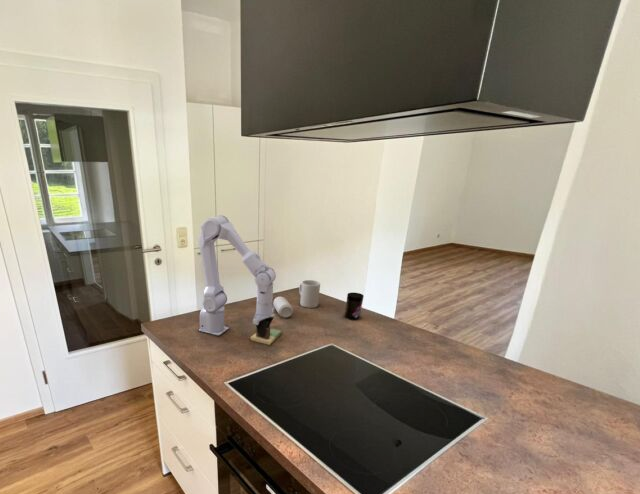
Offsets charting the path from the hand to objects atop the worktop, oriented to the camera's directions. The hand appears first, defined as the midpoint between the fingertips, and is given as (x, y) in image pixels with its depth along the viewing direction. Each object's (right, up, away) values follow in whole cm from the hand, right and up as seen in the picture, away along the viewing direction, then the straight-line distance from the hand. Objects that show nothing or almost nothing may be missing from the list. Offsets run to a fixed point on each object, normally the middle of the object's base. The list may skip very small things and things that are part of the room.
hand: (262, 335), depth 136 cm
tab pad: (+1, -1, +2) cm, 2 cm away
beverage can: (+11, +9, +19) cm, 24 cm away
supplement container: (+41, +7, +23) cm, 47 cm away
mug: (+23, +14, +38) cm, 46 cm away
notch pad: (+3, 0, +5) cm, 6 cm away
